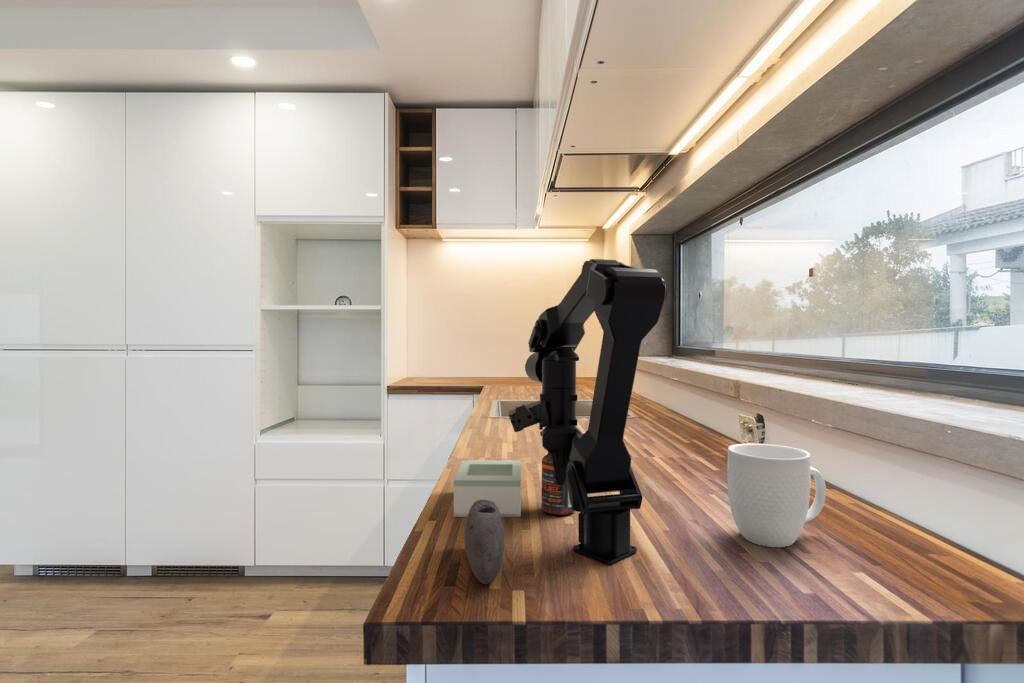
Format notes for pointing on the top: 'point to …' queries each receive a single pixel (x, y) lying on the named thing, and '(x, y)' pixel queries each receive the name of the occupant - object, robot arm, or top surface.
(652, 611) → the top surface
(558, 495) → the supplement bottle
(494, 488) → the green and cream box
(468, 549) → the perforated stone tool
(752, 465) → the mug
